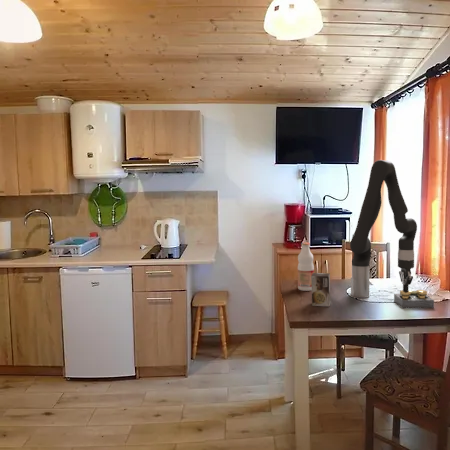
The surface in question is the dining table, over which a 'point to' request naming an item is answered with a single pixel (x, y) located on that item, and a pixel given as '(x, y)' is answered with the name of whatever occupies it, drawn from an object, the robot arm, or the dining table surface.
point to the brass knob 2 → (421, 293)
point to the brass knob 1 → (405, 294)
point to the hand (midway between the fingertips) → (405, 291)
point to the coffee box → (320, 289)
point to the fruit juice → (305, 268)
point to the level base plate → (414, 301)
